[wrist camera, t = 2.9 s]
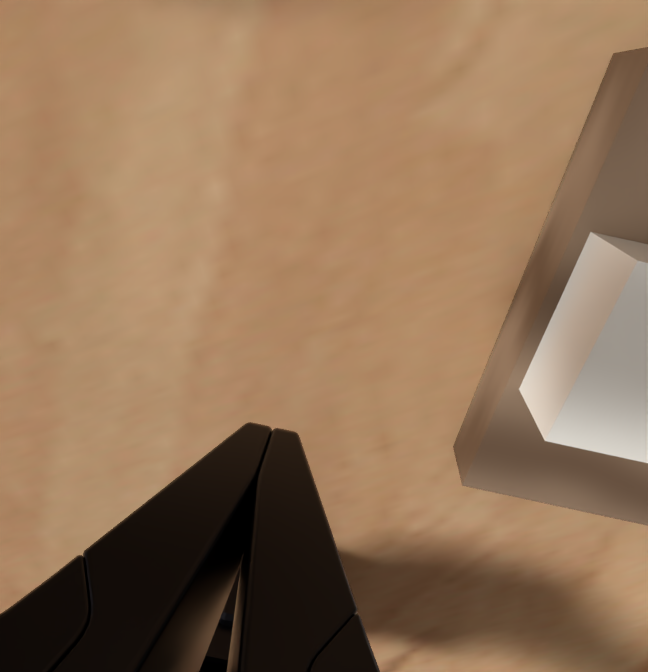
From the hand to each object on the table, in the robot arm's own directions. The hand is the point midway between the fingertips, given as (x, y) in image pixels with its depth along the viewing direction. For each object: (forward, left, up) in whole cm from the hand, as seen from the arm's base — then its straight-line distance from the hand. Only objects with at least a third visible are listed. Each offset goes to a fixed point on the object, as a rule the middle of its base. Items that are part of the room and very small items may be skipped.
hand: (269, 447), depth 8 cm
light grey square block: (0, -11, -10) cm, 15 cm away
